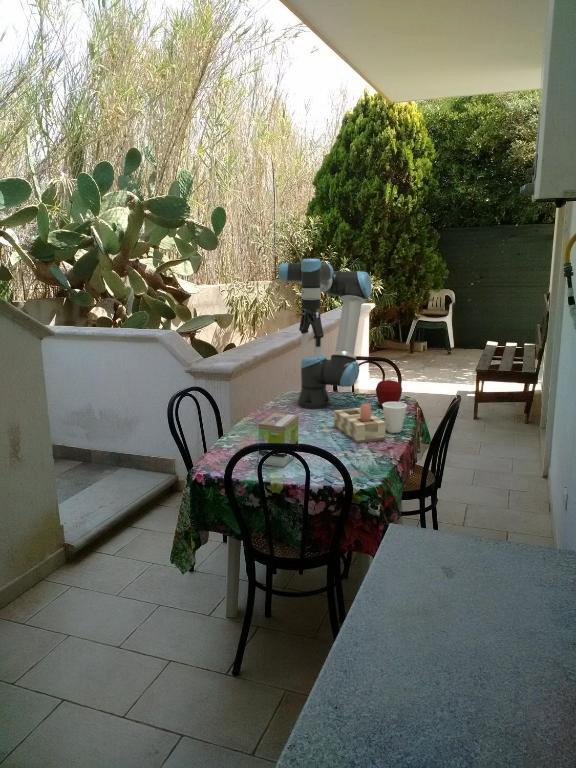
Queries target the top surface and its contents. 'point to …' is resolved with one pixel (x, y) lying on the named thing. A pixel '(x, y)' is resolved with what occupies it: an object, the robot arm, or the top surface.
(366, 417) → the peg
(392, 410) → the cup
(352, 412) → the hole block
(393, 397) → the apple
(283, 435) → the tea box
